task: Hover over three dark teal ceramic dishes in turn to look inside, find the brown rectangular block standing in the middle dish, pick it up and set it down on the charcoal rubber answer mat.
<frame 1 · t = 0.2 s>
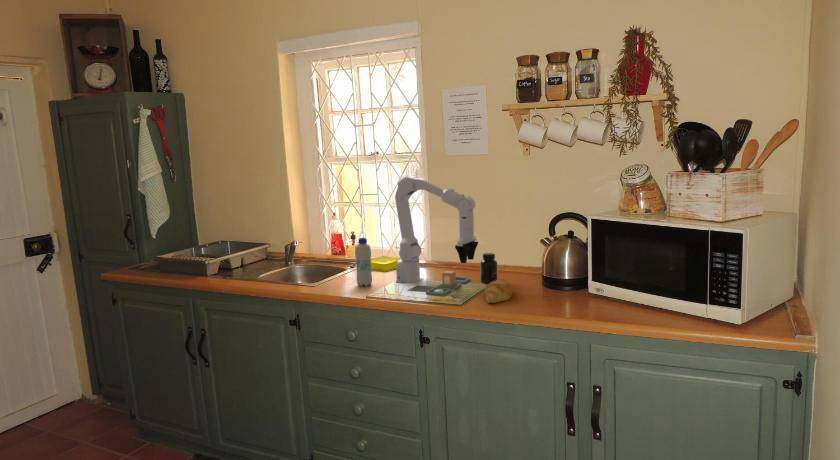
hand: (467, 261, 231), 10 cm above the counter, tool pointing down, fingers open, 7 cm apart
answer mat: (422, 289, 226), on the counter
dish b: (449, 287, 228), on the counter
yellow food container: (384, 268, 273), on the counter
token: (438, 292, 219), resting on dish c
bottle: (364, 286, 237), on the counter
supplement bottle: (489, 283, 234), on the counter
dish c: (438, 293, 219), on the counter
bread loaf: (498, 298, 210), on the counter
brown rectangular block: (449, 286, 227), resting on dish b
dish a: (459, 282, 236), on the counter
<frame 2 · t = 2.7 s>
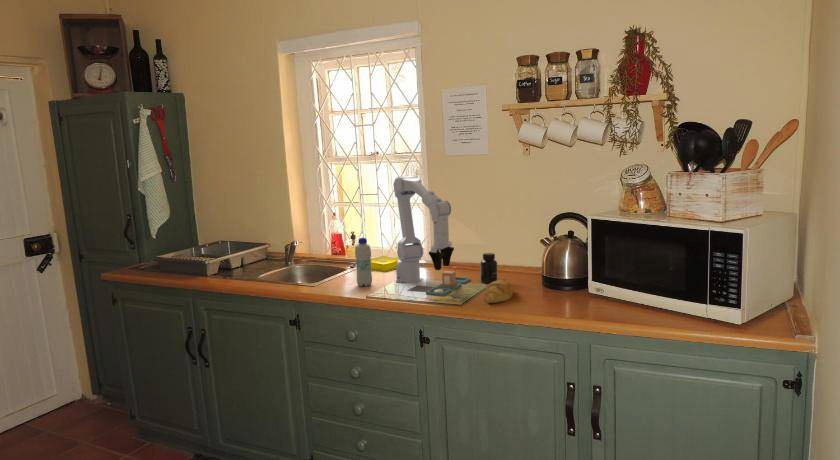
hand: (442, 267, 221), 9 cm above the counter, tool pointing down, fingers open, 7 cm apart
nothing on the counter moved.
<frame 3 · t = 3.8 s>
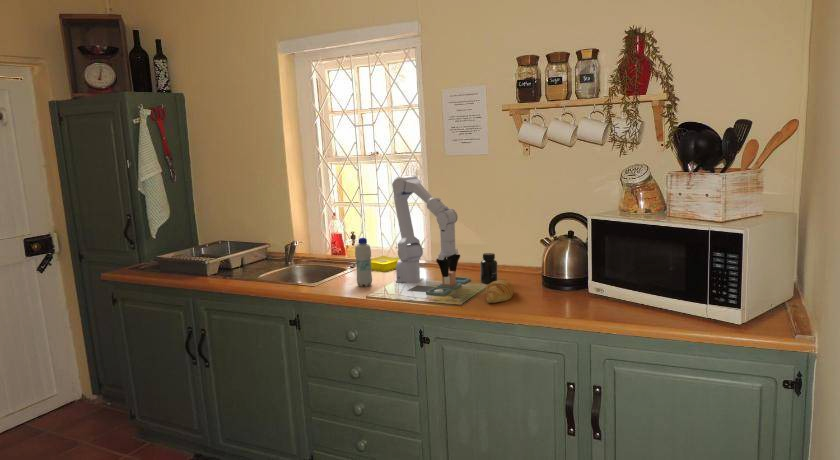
hand: (449, 274, 227), 5 cm above the counter, tool pointing down, fingers open, 7 cm apart
nothing on the counter moved.
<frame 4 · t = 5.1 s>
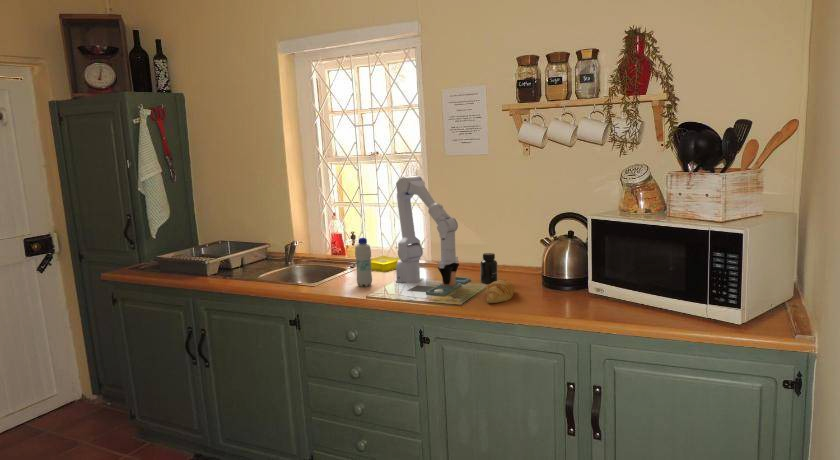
hand: (449, 282, 227), 2 cm above the counter, tool pointing down, fingers closed on brown rectangular block, 4 cm apart
brown rectangular block: (449, 286, 228), resting on dish b, touching gripper
everything else where it was.
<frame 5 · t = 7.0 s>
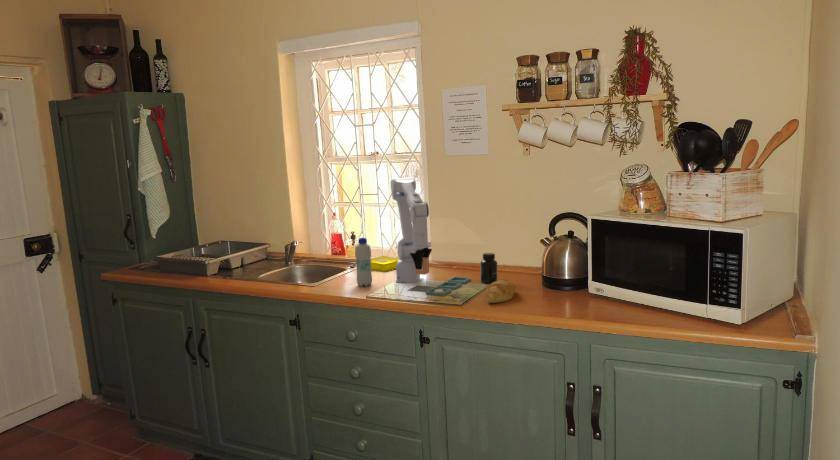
hand: (421, 268, 225), 9 cm above the counter, tool pointing down, fingers closed on brown rectangular block, 4 cm apart
brown rectangular block: (422, 273, 225), point 7 cm above the counter, touching gripper
everything else where it was.
when the fingers open (3 cm above the counter, at t = 8.7 s): brown rectangular block stays where it is, resting on answer mat.
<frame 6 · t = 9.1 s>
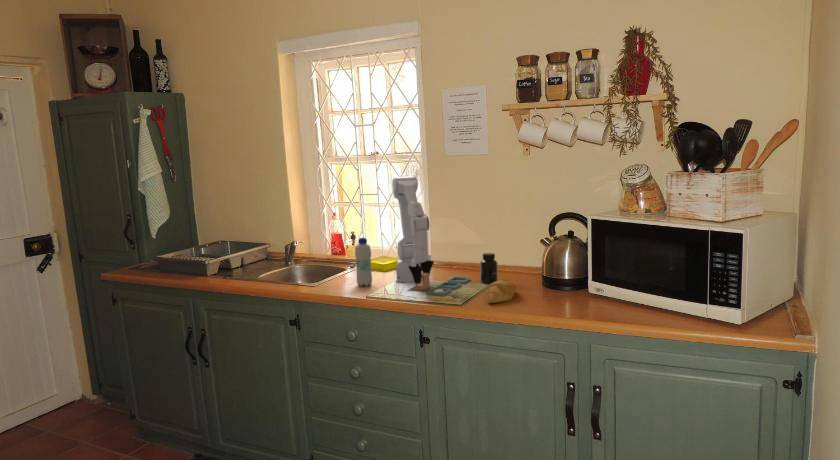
hand: (421, 281, 226), 3 cm above the counter, tool pointing down, fingers open, 7 cm apart
brown rectangular block: (422, 288, 226), resting on answer mat
everything else where it was.
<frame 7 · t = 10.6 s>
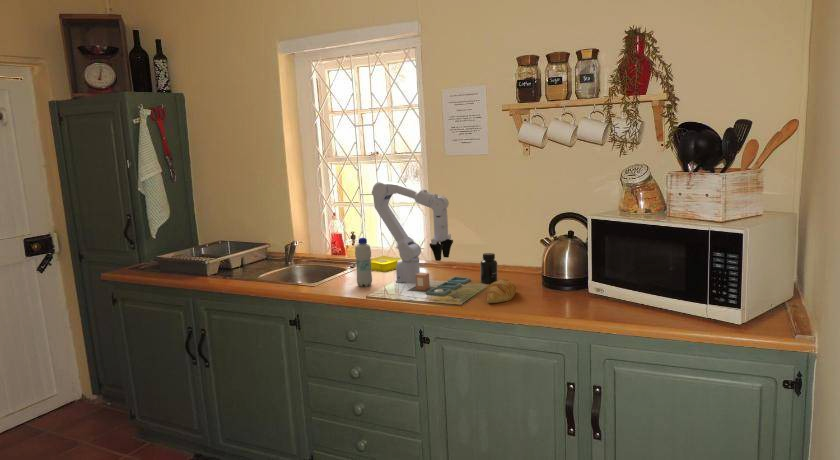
hand: (442, 259, 236), 10 cm above the counter, tool pointing down, fingers open, 7 cm apart
nothing on the counter moved.
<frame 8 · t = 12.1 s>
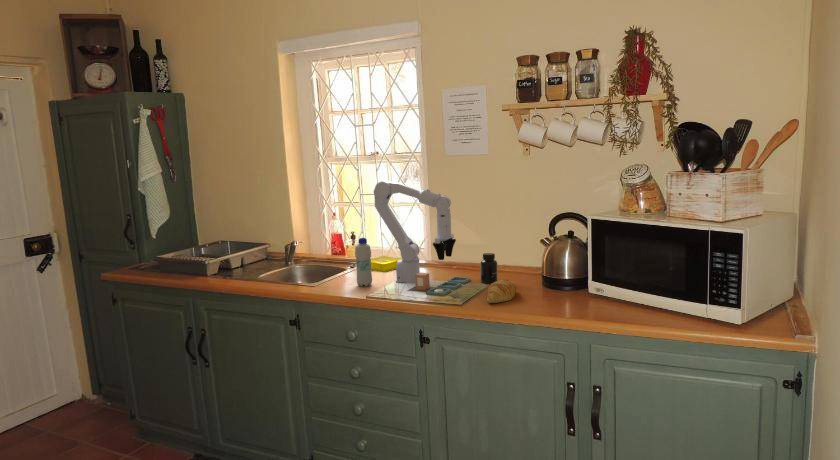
hand: (445, 258, 238), 10 cm above the counter, tool pointing down, fingers open, 7 cm apart
at the end: brown rectangular block inside the target area on the answer mat (0.3 cm from its centre), point 0.4 cm above the answer mat's base; brown rectangular block tilted 0°; the gripper is holding nothing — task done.
